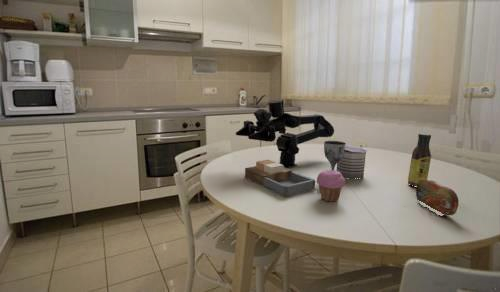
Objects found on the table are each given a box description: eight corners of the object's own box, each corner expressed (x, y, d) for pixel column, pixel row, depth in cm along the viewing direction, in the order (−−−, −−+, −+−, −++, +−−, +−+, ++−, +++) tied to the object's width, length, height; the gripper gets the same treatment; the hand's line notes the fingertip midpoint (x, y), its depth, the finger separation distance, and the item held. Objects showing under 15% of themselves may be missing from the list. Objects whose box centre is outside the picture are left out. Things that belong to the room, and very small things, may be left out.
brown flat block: (272, 172, 125) (272, 163, 124) (291, 180, 115) (292, 170, 114) (245, 177, 117) (245, 168, 116) (263, 186, 107) (263, 176, 106)
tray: (291, 180, 115) (292, 171, 114) (314, 189, 105) (315, 180, 105) (263, 186, 107) (263, 177, 106) (285, 197, 98) (285, 187, 97)
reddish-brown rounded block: (413, 200, 97) (417, 176, 95) (422, 200, 97) (426, 176, 96) (447, 221, 83) (452, 193, 81) (457, 221, 83) (462, 192, 81)
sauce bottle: (419, 189, 107) (427, 136, 103) (403, 184, 113) (410, 133, 108) (430, 187, 110) (438, 134, 106) (414, 182, 116) (421, 132, 111)
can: (340, 169, 131) (342, 143, 128) (367, 174, 124) (370, 146, 122) (331, 176, 121) (333, 147, 119) (359, 181, 115) (362, 151, 112)
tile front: (275, 168, 116) (275, 162, 116) (283, 171, 113) (283, 165, 112) (263, 170, 113) (263, 164, 112) (271, 173, 109) (271, 167, 109)
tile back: (267, 165, 120) (268, 159, 120) (274, 168, 117) (275, 162, 116) (256, 167, 117) (256, 161, 116) (262, 170, 113) (263, 164, 113)
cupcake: (348, 203, 94) (351, 173, 92) (324, 206, 91) (326, 175, 89) (333, 193, 102) (335, 165, 100) (310, 195, 100) (312, 167, 97)
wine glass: (342, 178, 119) (346, 141, 116) (342, 184, 112) (345, 145, 108) (322, 175, 121) (325, 140, 118) (320, 181, 114) (323, 143, 111)
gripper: (257, 106, 132) (227, 113, 124) (284, 109, 117) (252, 119, 109) (260, 130, 135) (231, 139, 127) (287, 136, 120) (256, 147, 112)
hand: (242, 135), depth 119 cm, fingers open, 9 cm apart
